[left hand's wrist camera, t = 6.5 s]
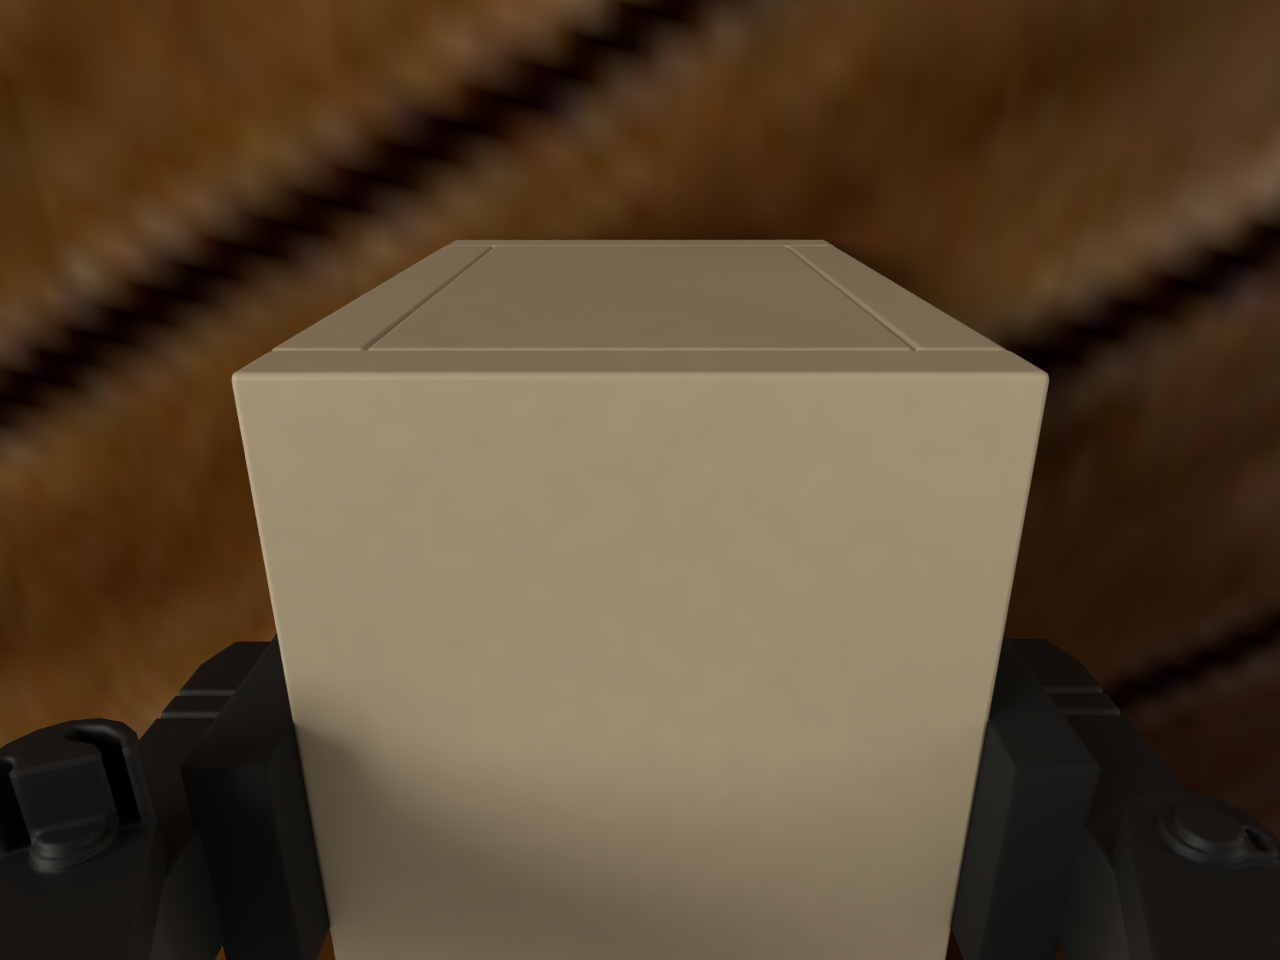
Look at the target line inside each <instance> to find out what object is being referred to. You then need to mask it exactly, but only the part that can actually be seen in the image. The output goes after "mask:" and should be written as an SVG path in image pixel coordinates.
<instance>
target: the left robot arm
mask: <svg viewBox="0 0 1280 960" xmlns="http://www.w3.org/2000/svg"><path fill="white" fill-rule="evenodd" d="M329 927H330V924H329V919H328V913H327V908H326V902H325V897H324V891H323V885H322V880H321V874H320V869H319V863H318V858H317V852H316V846H315V841H314V835H313V830H312V824H311V819H310V813H309V808H308V802H307V796H306V791H305V785H304V780H303V774H302V769H301V763H300V757H299V752H298V746H297V741H296V735H295V730H294V724H293V719H292V713H291V707H290V702H289V696H288V691H287V685H286V680H285V674H284V668H283V663H282V657H281V652H280V646H279V641H278V635H277V634H276V635H275V637H274V638H273V640H272V641H271V642H235V643H233V644H232V645H230V646H229V647H227V648H226V649H224V650H223V651H221V652H220V653H218V654H217V655H215V656H214V657H212V658H211V659H209V660H208V661H206V662H204V663H203V664H201V666H200V667H199V668H198V669H197V670H196V672H195V673H194V674H193V675H192V677H191V678H190V679H189V680H188V681H187V683H186V684H185V685H184V686H183V688H182V689H181V690H180V695H179V696H175V697H174V698H173V700H172V701H171V702H170V703H169V705H168V706H167V707H166V708H165V709H164V711H163V712H162V716H161V719H156V720H155V722H154V723H153V724H152V725H151V726H150V728H149V729H148V730H147V731H146V733H145V734H144V735H143V736H142V737H141V739H140V740H139V741H138V737H137V733H136V732H135V731H133V730H132V729H131V728H130V727H128V726H127V725H126V724H125V723H123V722H119V721H113V720H108V719H102V718H96V719H84V720H73V721H68V722H64V723H60V724H57V725H53V726H50V727H46V728H42V729H39V730H36V731H34V732H32V733H30V734H28V735H25V736H23V737H21V738H19V739H17V740H15V741H12V742H10V743H8V744H6V745H5V746H3V747H2V748H0V960H215V959H216V957H217V955H218V953H219V951H220V949H221V947H222V945H223V948H224V952H225V956H226V960H317V958H318V956H319V953H320V950H321V948H322V945H323V943H324V940H325V938H326V935H327V932H328V930H329ZM951 928H952V930H953V933H954V935H955V938H956V941H957V943H958V946H959V948H960V951H961V953H962V956H963V959H964V960H1055V956H1056V952H1057V948H1058V944H1059V943H1060V945H1061V947H1062V949H1063V950H1064V952H1065V954H1066V956H1067V958H1068V960H1280V842H1279V840H1278V839H1277V838H1276V836H1275V835H1274V834H1273V833H1271V832H1270V831H1269V830H1268V829H1267V828H1265V827H1264V826H1263V825H1262V824H1260V823H1259V822H1258V821H1257V820H1255V819H1254V818H1253V817H1252V816H1251V815H1249V814H1247V813H1245V812H1243V811H1241V810H1239V809H1237V808H1235V807H1233V806H1232V805H1230V804H1228V803H1226V802H1224V801H1222V800H1220V799H1217V798H1214V797H1210V796H1207V795H1204V794H1201V793H1198V792H1194V791H1191V790H1186V789H1185V788H1184V787H1183V785H1182V784H1181V783H1180V782H1179V781H1178V779H1177V778H1176V777H1175V776H1174V775H1173V773H1172V772H1171V771H1170V770H1169V769H1168V767H1167V766H1166V765H1165V764H1164V762H1163V761H1162V760H1161V759H1160V758H1159V756H1158V755H1157V754H1156V753H1155V752H1154V750H1153V749H1152V748H1151V747H1150V746H1149V744H1148V743H1147V742H1146V741H1145V740H1144V738H1143V737H1142V736H1141V735H1140V733H1139V732H1138V731H1137V730H1136V729H1135V727H1134V726H1133V725H1132V724H1131V723H1130V721H1129V720H1128V719H1127V718H1126V717H1125V716H1121V715H1120V709H1119V708H1118V707H1117V706H1116V704H1115V703H1114V702H1113V701H1112V700H1111V698H1110V697H1109V696H1108V695H1107V694H1106V693H1102V688H1101V686H1100V685H1099V684H1098V683H1097V682H1096V680H1095V679H1094V678H1093V677H1092V675H1091V674H1090V673H1089V672H1088V671H1087V669H1086V668H1085V667H1084V666H1083V665H1082V663H1081V662H1080V661H1078V660H1077V659H1075V658H1074V657H1072V656H1071V655H1069V654H1067V653H1066V652H1064V651H1063V650H1061V649H1060V648H1058V647H1057V646H1055V645H1054V644H1052V643H1051V642H1049V641H1048V640H1046V639H1008V638H1007V637H1006V636H1005V634H1003V640H1002V645H1001V651H1000V656H999V662H998V668H997V673H996V679H995V684H994V690H993V695H992V701H991V707H990V712H989V718H988V723H987V729H986V734H985V740H984V745H983V751H982V757H981V762H980V768H979V773H978V779H977V784H976V790H975V796H974V801H973V807H972V812H971V818H970V823H969V829H968V834H967V840H966V846H965V851H964V857H963V862H962V868H961V873H960V879H959V885H958V890H957V896H956V901H955V907H954V912H953V918H952V924H951Z"/></svg>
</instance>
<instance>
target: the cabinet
mask: <svg viewBox="0 0 1280 960" xmlns="http://www.w3.org/2000/svg"><path fill="white" fill-rule="evenodd" d="M1048 384H1049V377H1048V373H1046V372H1044V371H1043V370H1041V369H1039V368H1038V367H1036V366H1034V365H1033V364H1031V363H1029V362H1028V361H1026V360H1024V359H1023V358H1021V357H1019V356H1018V355H1016V354H1014V353H1012V352H1010V351H1008V350H1005V349H1004V348H1003V347H1001V346H999V345H998V344H996V343H994V342H993V341H991V340H989V339H988V338H986V337H984V336H983V335H981V334H979V333H978V332H976V331H974V330H973V329H971V328H969V327H968V326H966V325H964V324H963V323H961V322H959V321H958V320H956V319H954V318H953V317H951V316H949V315H948V314H946V313H944V312H943V311H941V310H939V309H938V308H936V307H934V306H933V305H931V304H929V303H928V302H926V301H924V300H923V299H921V298H919V297H918V296H916V295H914V294H913V293H911V292H909V291H908V290H906V289H904V288H903V287H901V286H899V285H898V284H896V283H894V282H893V281H891V280H889V279H888V278H886V277H884V276H883V275H881V274H879V273H878V272H876V271H874V270H873V269H871V268H869V267H868V266H866V265H864V264H863V263H861V262H859V261H858V260H856V259H854V258H853V257H851V256H849V255H848V254H846V253H844V252H843V251H841V250H839V249H838V248H836V247H834V246H833V245H831V244H830V243H828V242H826V241H824V240H456V241H454V242H452V243H451V244H449V245H447V246H445V247H443V248H441V249H440V250H438V251H436V252H435V253H433V254H431V255H430V256H428V257H426V258H425V259H423V260H421V261H420V262H418V263H416V264H415V265H413V266H411V267H410V268H408V269H406V270H404V271H403V272H401V273H399V274H398V275H396V276H394V277H393V278H391V279H389V280H388V281H386V282H384V283H383V284H381V285H379V286H378V287H376V288H374V289H373V290H371V291H369V292H368V293H366V294H364V295H363V296H361V297H359V298H358V299H356V300H354V301H353V302H351V303H349V304H347V305H346V306H344V307H342V308H341V309H339V310H337V311H336V312H334V313H332V314H331V315H329V316H327V317H326V318H324V319H322V320H321V321H319V322H317V323H316V324H314V325H312V326H311V327H309V328H307V329H306V330H304V331H302V332H301V333H299V334H297V335H296V336H294V337H292V338H290V339H289V340H287V341H285V342H284V343H282V344H280V345H279V346H277V347H275V348H274V349H273V350H272V351H271V352H269V353H267V354H265V355H263V356H262V357H260V358H258V359H257V360H255V361H253V362H252V363H250V364H248V365H247V366H245V367H243V368H242V369H240V370H238V371H237V372H235V373H233V376H232V385H233V390H234V396H235V401H236V407H237V413H238V418H239V424H240V429H241V435H242V440H243V446H244V452H245V457H246V463H247V468H248V474H249V479H250V485H251V490H252V496H253V502H254V507H255V513H256V518H257V524H258V529H259V535H260V541H261V546H262V552H263V557H264V563H265V568H266V574H267V579H268V585H269V591H270V596H271V602H272V607H273V613H274V618H275V624H276V630H277V635H278V641H279V646H280V652H281V657H282V663H283V668H284V674H285V680H286V685H287V691H288V696H289V702H290V707H291V713H292V719H293V724H294V730H295V735H296V741H297V746H298V752H299V757H300V763H301V769H302V774H303V780H304V785H305V791H306V796H307V802H308V808H309V813H310V819H311V824H312V830H313V835H314V841H315V846H316V852H317V858H318V863H319V869H320V874H321V880H322V885H323V891H324V897H325V902H326V908H327V913H328V919H329V924H330V930H331V935H332V941H333V947H334V952H335V958H336V960H945V957H946V951H947V946H948V940H949V935H950V929H951V924H952V918H953V912H954V907H955V901H956V896H957V890H958V885H959V879H960V873H961V868H962V862H963V857H964V851H965V846H966V840H967V834H968V829H969V823H970V818H971V812H972V807H973V801H974V796H975V790H976V784H977V779H978V773H979V768H980V762H981V757H982V751H983V745H984V740H985V734H986V729H987V723H988V718H989V712H990V707H991V701H992V695H993V690H994V684H995V679H996V673H997V668H998V662H999V656H1000V651H1001V645H1002V640H1003V634H1004V629H1005V623H1006V618H1007V612H1008V606H1009V601H1010V595H1011V590H1012V584H1013V579H1014V573H1015V567H1016V562H1017V556H1018V551H1019V545H1020V540H1021V534H1022V529H1023V523H1024V517H1025V512H1026V506H1027V501H1028V495H1029V490H1030V484H1031V478H1032V473H1033V467H1034V462H1035V456H1036V451H1037V445H1038V439H1039V434H1040V428H1041V423H1042V417H1043V412H1044V406H1045V401H1046V395H1047V389H1048Z"/></svg>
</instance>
